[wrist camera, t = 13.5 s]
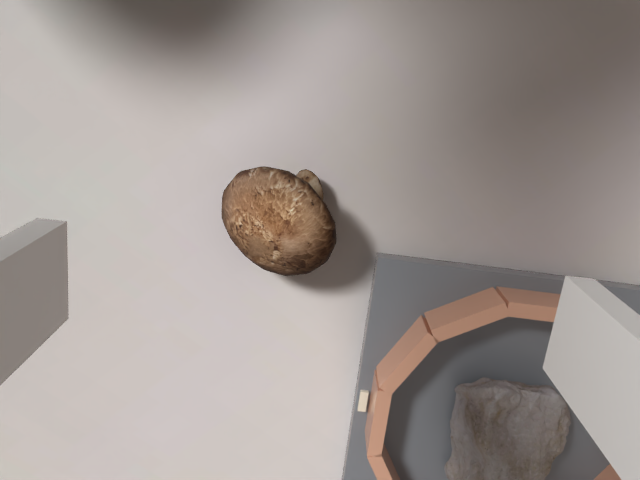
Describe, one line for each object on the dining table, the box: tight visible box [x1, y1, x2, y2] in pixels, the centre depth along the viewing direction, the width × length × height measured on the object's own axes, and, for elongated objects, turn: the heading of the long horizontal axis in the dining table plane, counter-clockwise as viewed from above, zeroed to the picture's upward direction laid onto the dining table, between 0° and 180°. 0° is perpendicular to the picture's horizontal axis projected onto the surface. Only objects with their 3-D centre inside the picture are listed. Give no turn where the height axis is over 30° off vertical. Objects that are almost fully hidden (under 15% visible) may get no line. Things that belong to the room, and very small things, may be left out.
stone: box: [444, 377, 571, 480], centre depth 41 cm, size 10×8×6 cm
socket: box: [342, 253, 640, 480], centre depth 42 cm, size 22×22×4 cm
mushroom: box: [222, 167, 336, 276], centre depth 38 cm, size 8×8×6 cm
